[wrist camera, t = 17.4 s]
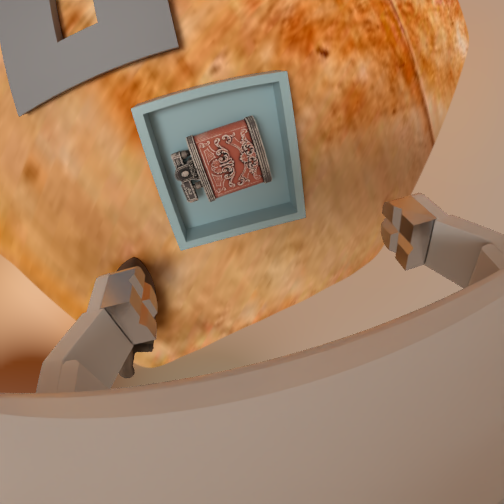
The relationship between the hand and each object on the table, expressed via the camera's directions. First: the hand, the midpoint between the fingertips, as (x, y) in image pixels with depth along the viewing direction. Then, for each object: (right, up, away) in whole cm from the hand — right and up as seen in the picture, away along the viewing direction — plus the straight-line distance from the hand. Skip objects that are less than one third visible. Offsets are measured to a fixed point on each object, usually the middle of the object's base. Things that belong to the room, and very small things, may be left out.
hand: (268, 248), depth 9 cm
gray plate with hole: (-20, +28, +9) cm, 35 cm away
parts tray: (-4, +11, +25) cm, 27 cm away
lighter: (+1, +11, +22) cm, 25 cm away
